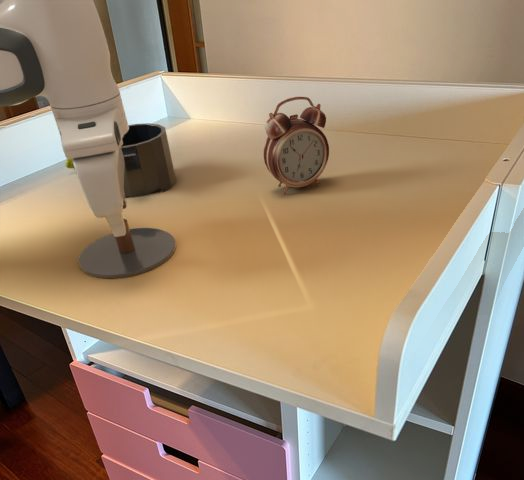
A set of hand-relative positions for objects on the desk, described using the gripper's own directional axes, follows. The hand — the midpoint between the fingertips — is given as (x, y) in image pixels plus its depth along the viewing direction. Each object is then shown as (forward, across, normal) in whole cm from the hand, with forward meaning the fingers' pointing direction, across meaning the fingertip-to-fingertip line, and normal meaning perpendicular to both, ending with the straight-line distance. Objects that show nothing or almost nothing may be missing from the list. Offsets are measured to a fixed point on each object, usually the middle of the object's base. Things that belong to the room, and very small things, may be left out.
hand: (121, 220), depth 82 cm
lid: (+5, 0, 0) cm, 5 cm away
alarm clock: (+6, -15, +30) cm, 34 cm away
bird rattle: (+6, -46, -10) cm, 48 cm away
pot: (+6, -29, +2) cm, 30 cm away
